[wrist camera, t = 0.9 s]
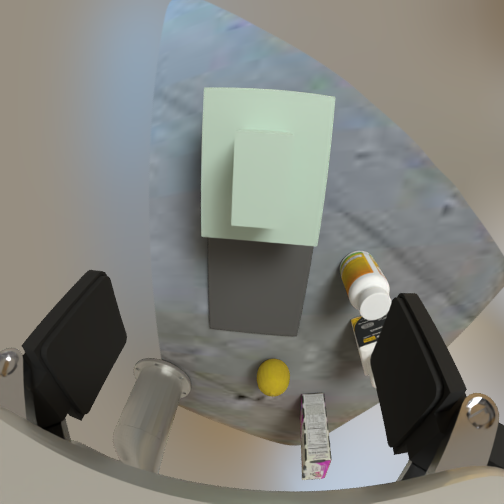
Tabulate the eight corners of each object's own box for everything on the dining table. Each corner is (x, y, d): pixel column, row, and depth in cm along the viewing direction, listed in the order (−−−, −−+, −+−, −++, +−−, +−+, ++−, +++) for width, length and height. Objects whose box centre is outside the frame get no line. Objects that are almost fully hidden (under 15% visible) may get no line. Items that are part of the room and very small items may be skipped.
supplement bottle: (333, 278, 40) (346, 321, 31) (347, 245, 38) (365, 283, 29) (365, 286, 40) (383, 328, 32) (380, 255, 38) (404, 292, 29)
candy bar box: (321, 417, 57) (325, 478, 42) (299, 419, 57) (300, 480, 43) (325, 391, 52) (332, 461, 37) (301, 393, 52) (303, 463, 38)
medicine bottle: (390, 304, 42) (416, 356, 31) (394, 333, 44) (415, 385, 33) (349, 318, 43) (366, 374, 32) (357, 346, 46) (371, 401, 35)
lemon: (295, 359, 48) (297, 395, 41) (273, 373, 50) (272, 408, 43) (273, 344, 47) (272, 381, 40) (251, 359, 49) (247, 395, 42)
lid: (314, 237, 30) (325, 277, 23) (206, 228, 31) (184, 265, 23) (330, 98, 24) (352, 90, 16) (209, 90, 24) (184, 79, 17)
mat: (296, 333, 45) (296, 336, 44) (211, 325, 46) (210, 328, 45) (315, 229, 37) (315, 231, 36) (209, 220, 38) (207, 222, 37)
